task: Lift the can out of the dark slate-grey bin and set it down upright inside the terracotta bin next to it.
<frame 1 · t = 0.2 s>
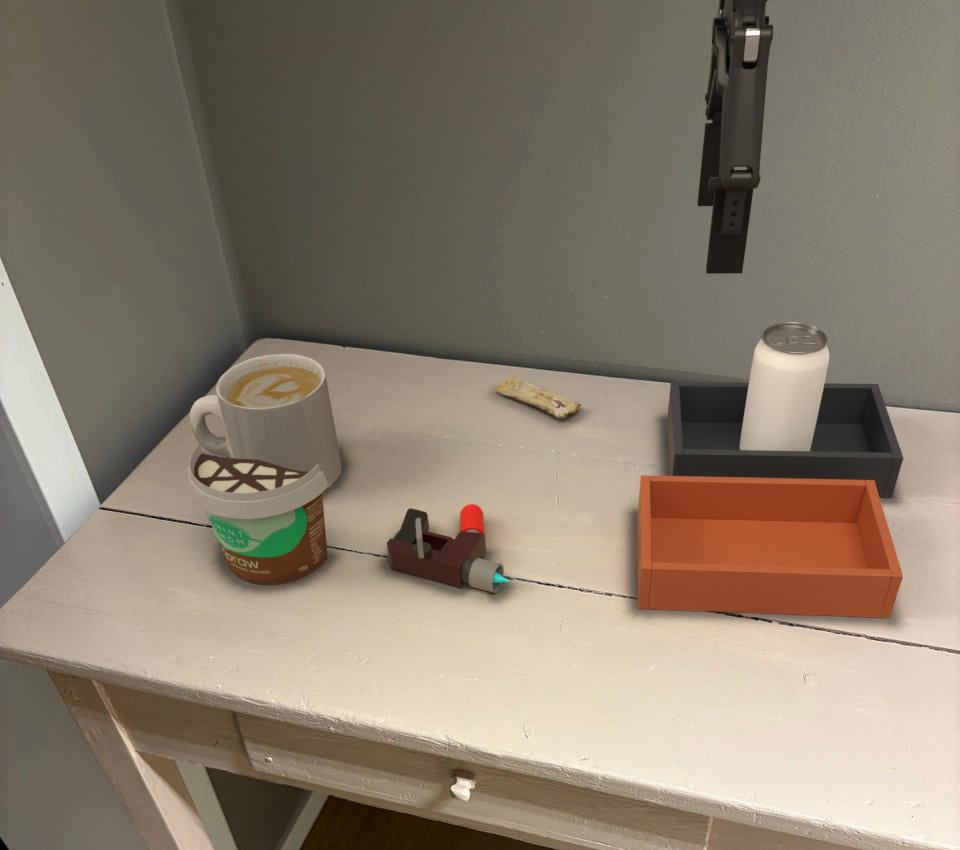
hand: (718, 236, 82), 21 cm above the table, tool pointing down, fingers open, 13 cm apart
toy gun: (461, 555, 87), on the table
terracotta bin: (755, 562, 84), on the table
food container: (264, 571, 86), on the table
snack bar: (538, 404, 104), on the table
coffee mug: (275, 472, 97), on the table
can: (773, 455, 95), resting on grey bin
grey bin: (772, 456, 95), on the table
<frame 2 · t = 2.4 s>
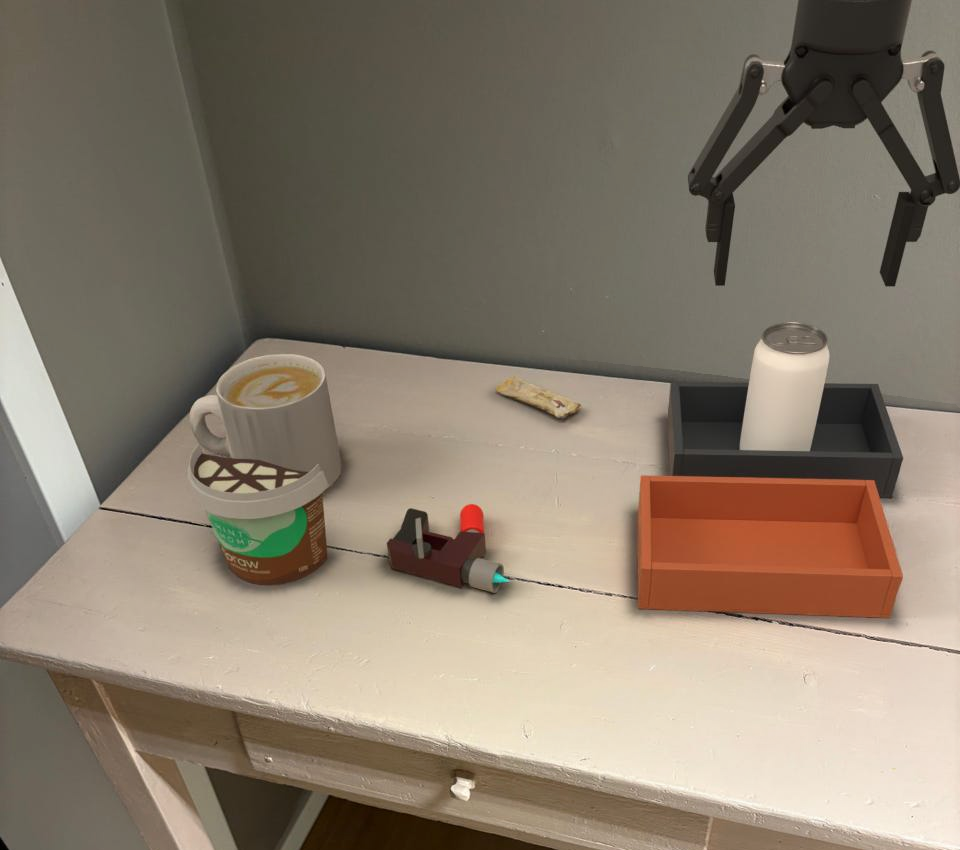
hand: (802, 279, 83), 17 cm above the table, tool pointing down, fingers open, 13 cm apart
nothing on the table moved.
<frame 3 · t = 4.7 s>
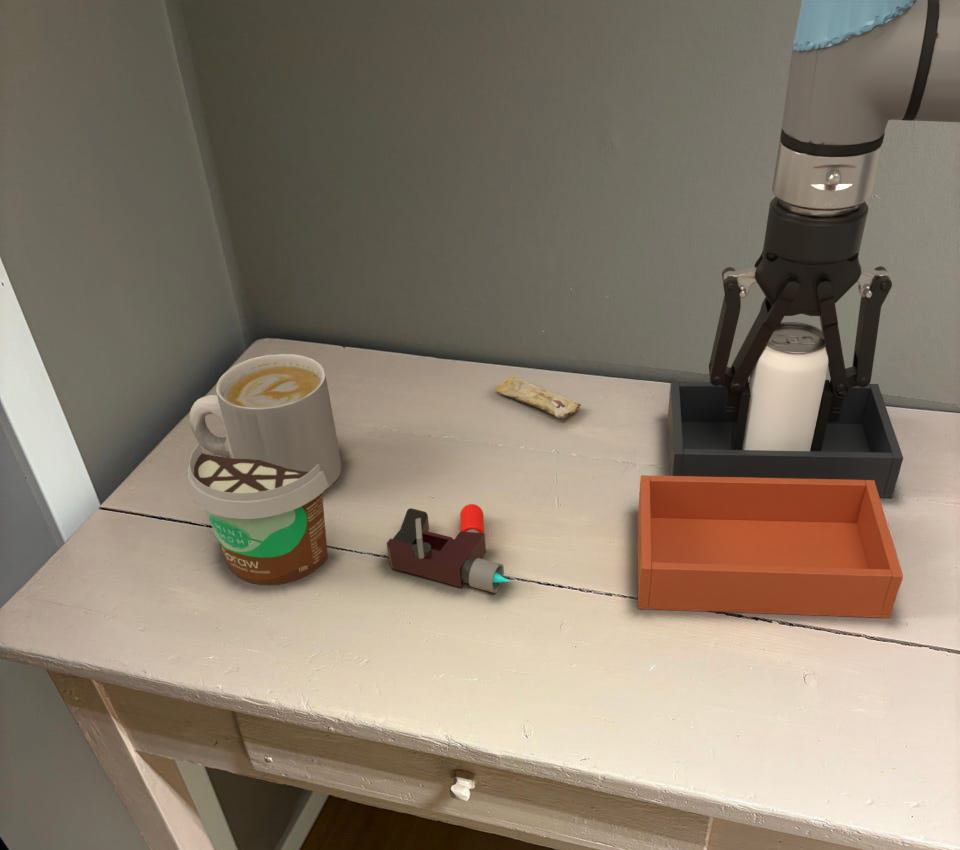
hand: (774, 448, 94), 1 cm above the table, tool pointing down, fingers closed on can, 6 cm apart
can: (773, 455, 95), resting on grey bin, touching gripper
everything else where it was.
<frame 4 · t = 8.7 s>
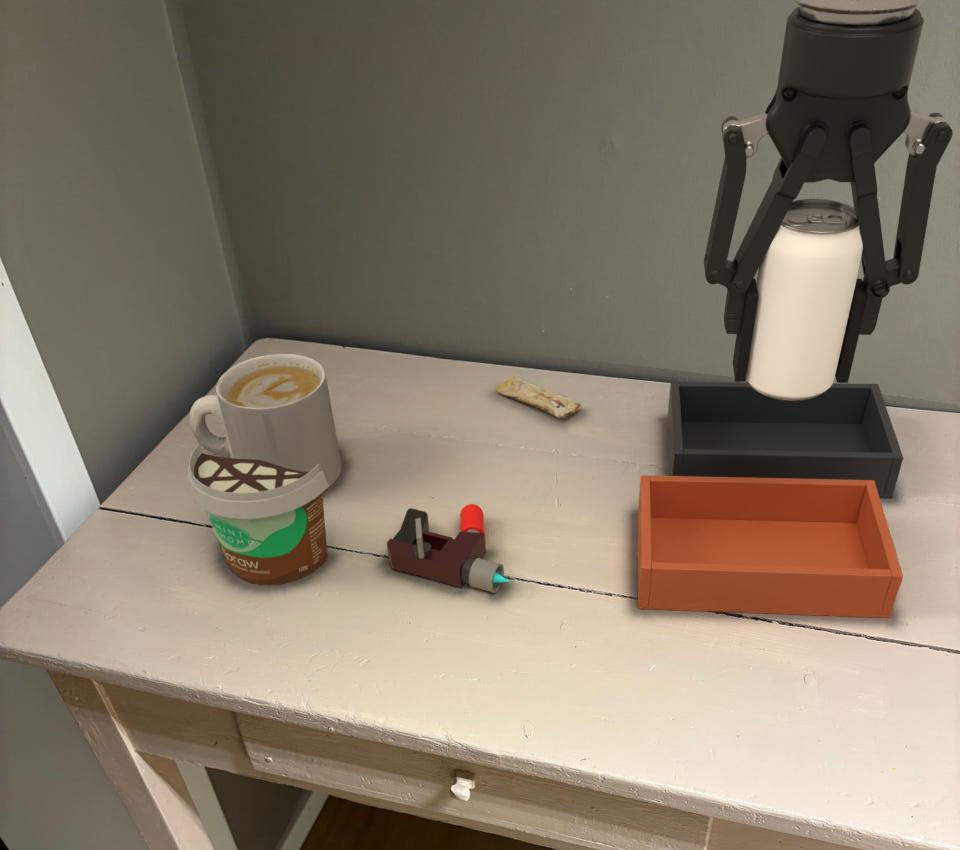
hand: (789, 372, 73), 17 cm above the table, tool pointing down, fingers closed on can, 6 cm apart
can: (787, 382, 73), point 16 cm above the table, touching gripper
everything else where it was.
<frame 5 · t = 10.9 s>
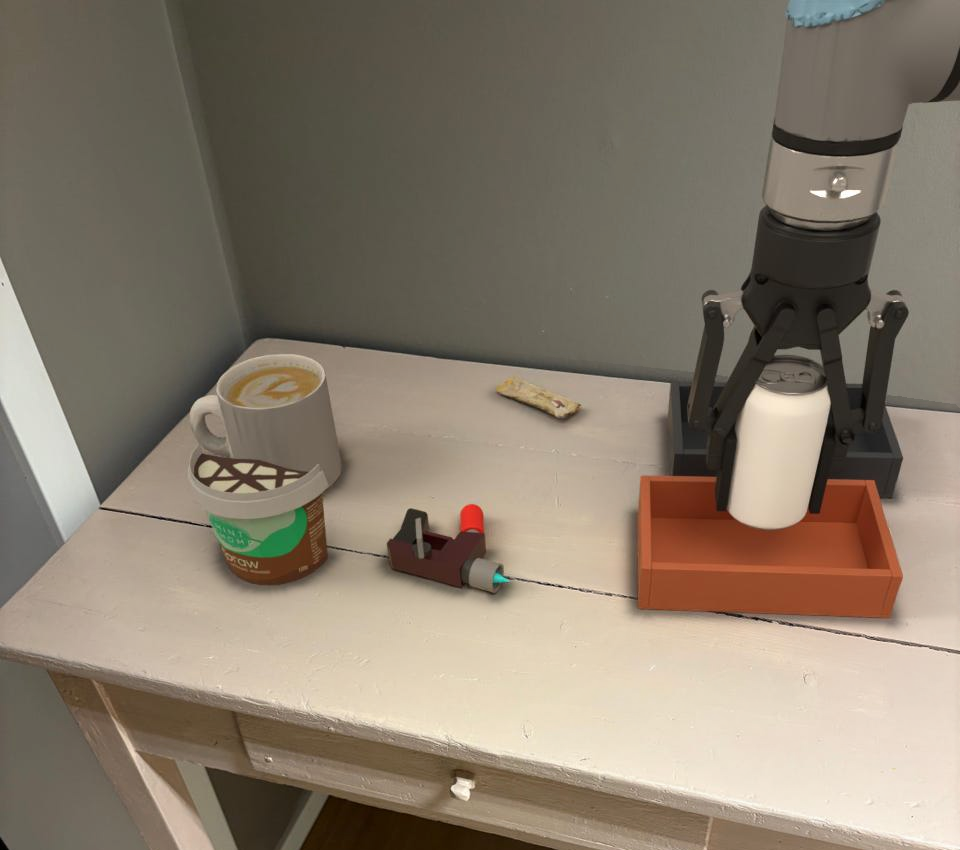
hand: (766, 501, 79), 6 cm above the table, tool pointing down, fingers closed on can, 6 cm apart
can: (764, 510, 80), point 5 cm above the table, touching gripper
everything else where it was.
when the fingers open (1 cm above the table, at t = 12.6 s): can stays where it is, resting on terracotta bin.
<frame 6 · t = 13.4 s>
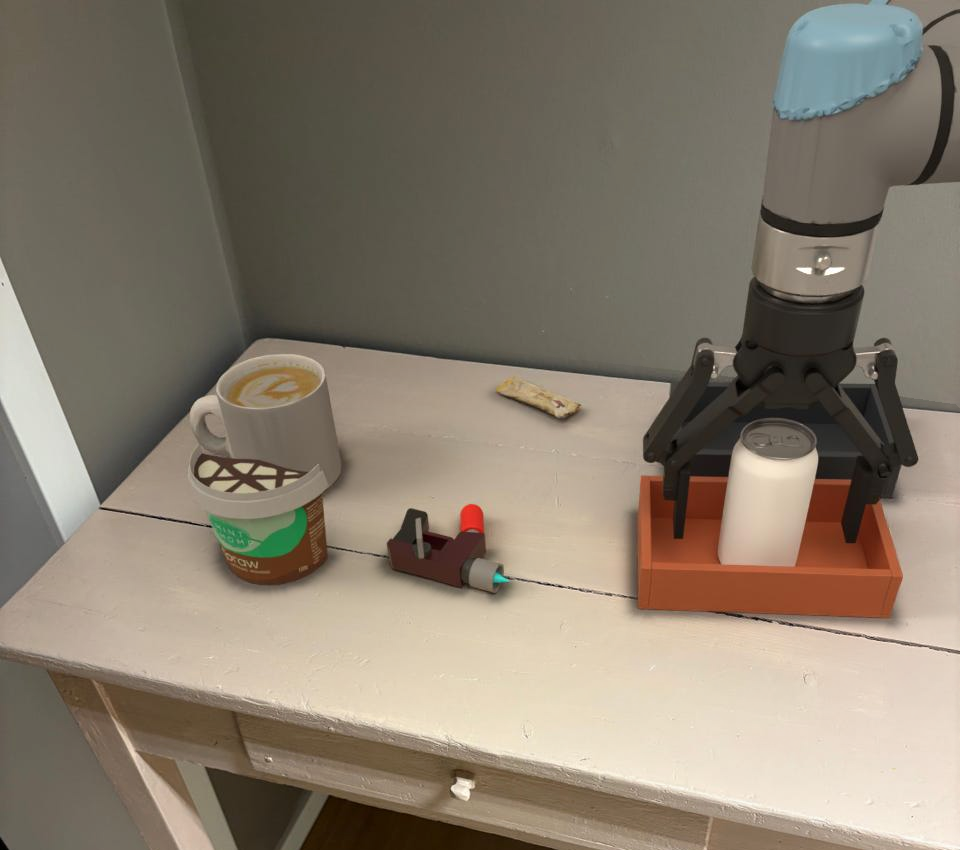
hand: (762, 531, 81), 3 cm above the table, tool pointing down, fingers open, 13 cm apart
can: (755, 561, 84), resting on terracotta bin
everything else where it was.
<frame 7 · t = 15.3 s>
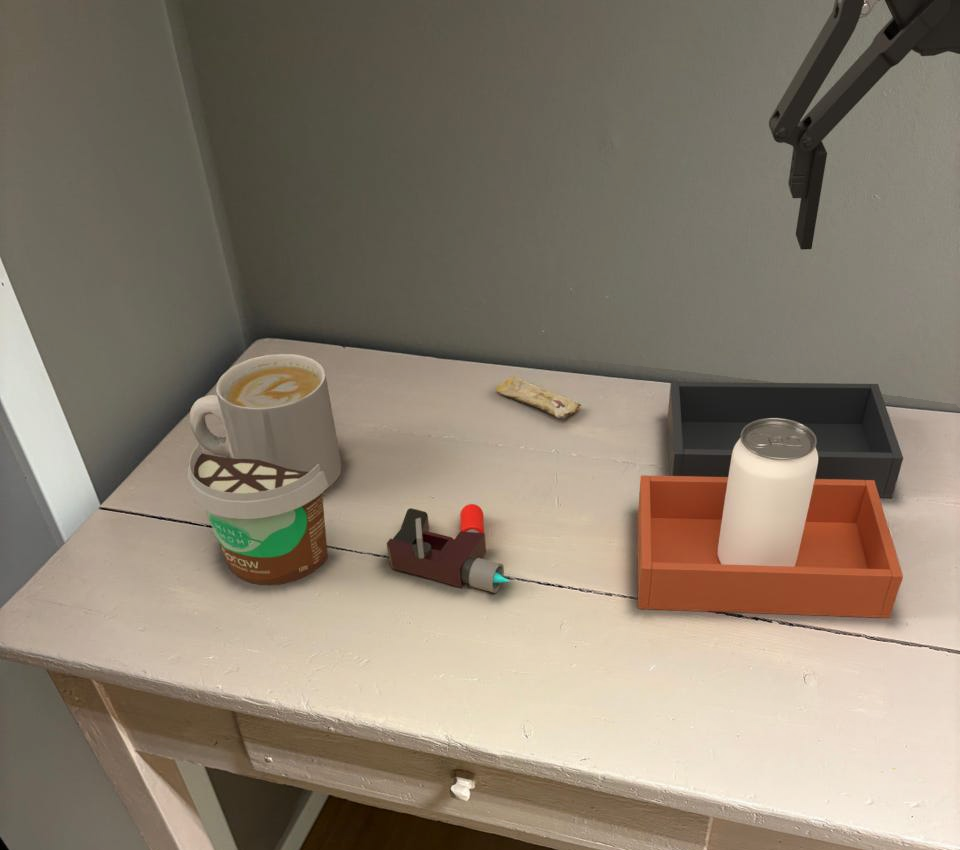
hand: (900, 239, 71), 24 cm above the table, tool pointing down, fingers open, 13 cm apart
nothing on the table moved.
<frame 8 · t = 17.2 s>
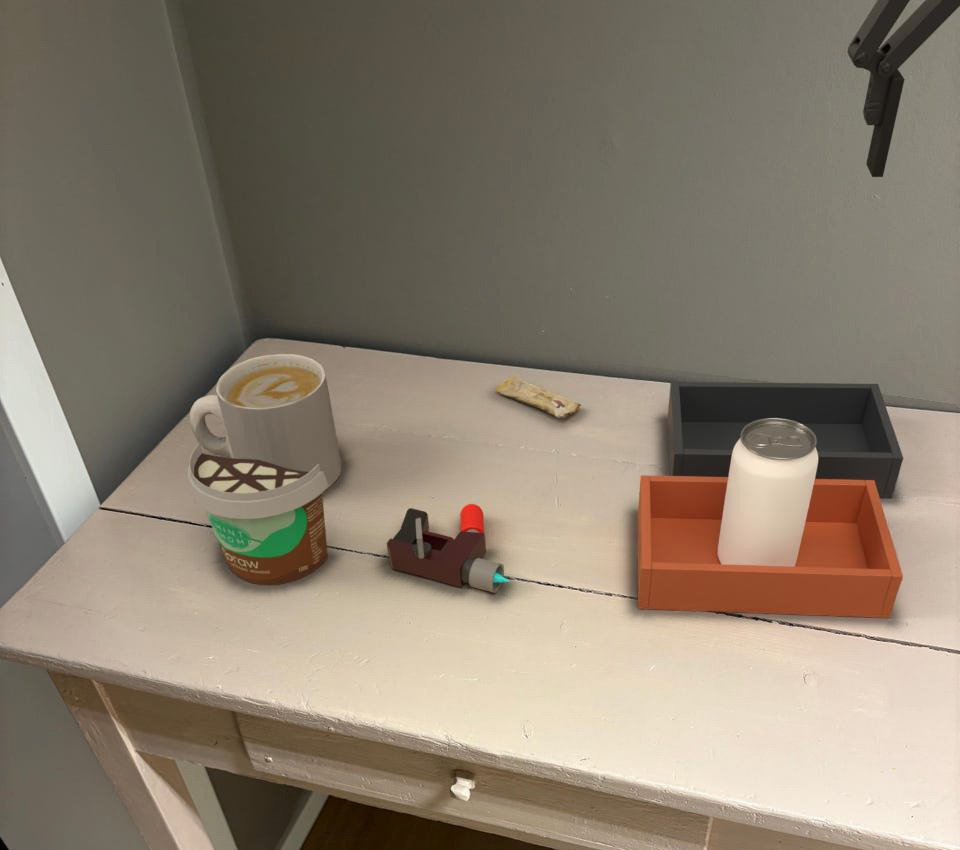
nothing on the table moved.
at the end: can inside the target area in the terracotta bin (0.0 cm from its centre), point 0.1 cm above the terracotta bin's base; can tilted 0°; the gripper is holding nothing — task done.
